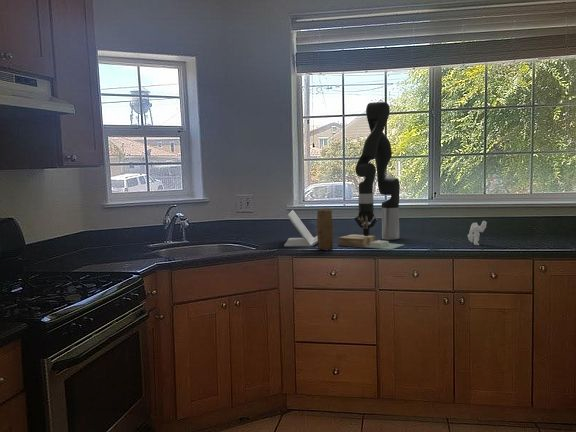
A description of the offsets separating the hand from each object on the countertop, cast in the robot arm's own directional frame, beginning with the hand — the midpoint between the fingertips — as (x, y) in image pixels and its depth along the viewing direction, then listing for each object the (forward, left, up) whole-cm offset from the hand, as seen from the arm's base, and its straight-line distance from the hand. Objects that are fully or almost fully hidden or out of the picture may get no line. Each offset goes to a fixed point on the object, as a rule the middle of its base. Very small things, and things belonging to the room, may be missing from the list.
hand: (366, 235), depth 267 cm
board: (0, -6, -5) cm, 7 cm away
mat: (-1, +9, -5) cm, 10 cm away
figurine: (-29, +46, -5) cm, 55 cm away
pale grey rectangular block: (0, +7, -2) cm, 8 cm away
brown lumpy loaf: (+19, -13, -5) cm, 23 cm away
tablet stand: (+8, -35, -5) cm, 36 cm away
